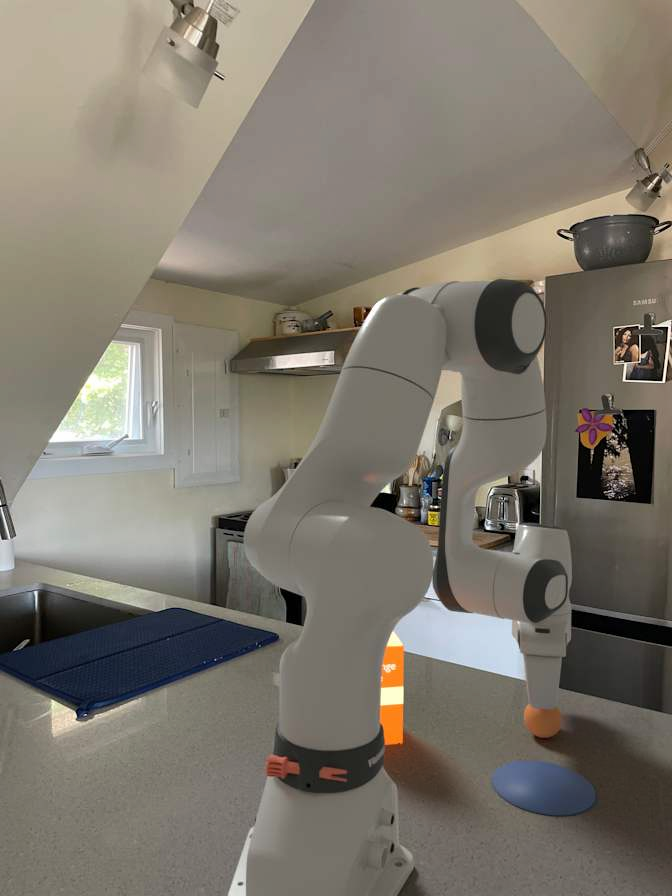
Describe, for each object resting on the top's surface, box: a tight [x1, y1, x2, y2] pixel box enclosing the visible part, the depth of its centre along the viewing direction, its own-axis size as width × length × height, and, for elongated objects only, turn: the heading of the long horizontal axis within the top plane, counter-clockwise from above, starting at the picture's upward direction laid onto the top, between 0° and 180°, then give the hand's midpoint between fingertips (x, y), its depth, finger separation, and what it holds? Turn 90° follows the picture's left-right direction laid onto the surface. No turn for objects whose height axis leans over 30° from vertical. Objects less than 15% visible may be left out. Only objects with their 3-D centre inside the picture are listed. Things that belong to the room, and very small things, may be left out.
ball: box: [523, 703, 563, 739], centre depth 105 cm, size 6×6×6 cm
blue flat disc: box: [491, 760, 597, 817], centre depth 91 cm, size 13×13×1 cm
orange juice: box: [380, 630, 405, 746], centre depth 106 cm, size 8×9×20 cm
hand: (540, 712), depth 109 cm, fingers closed
